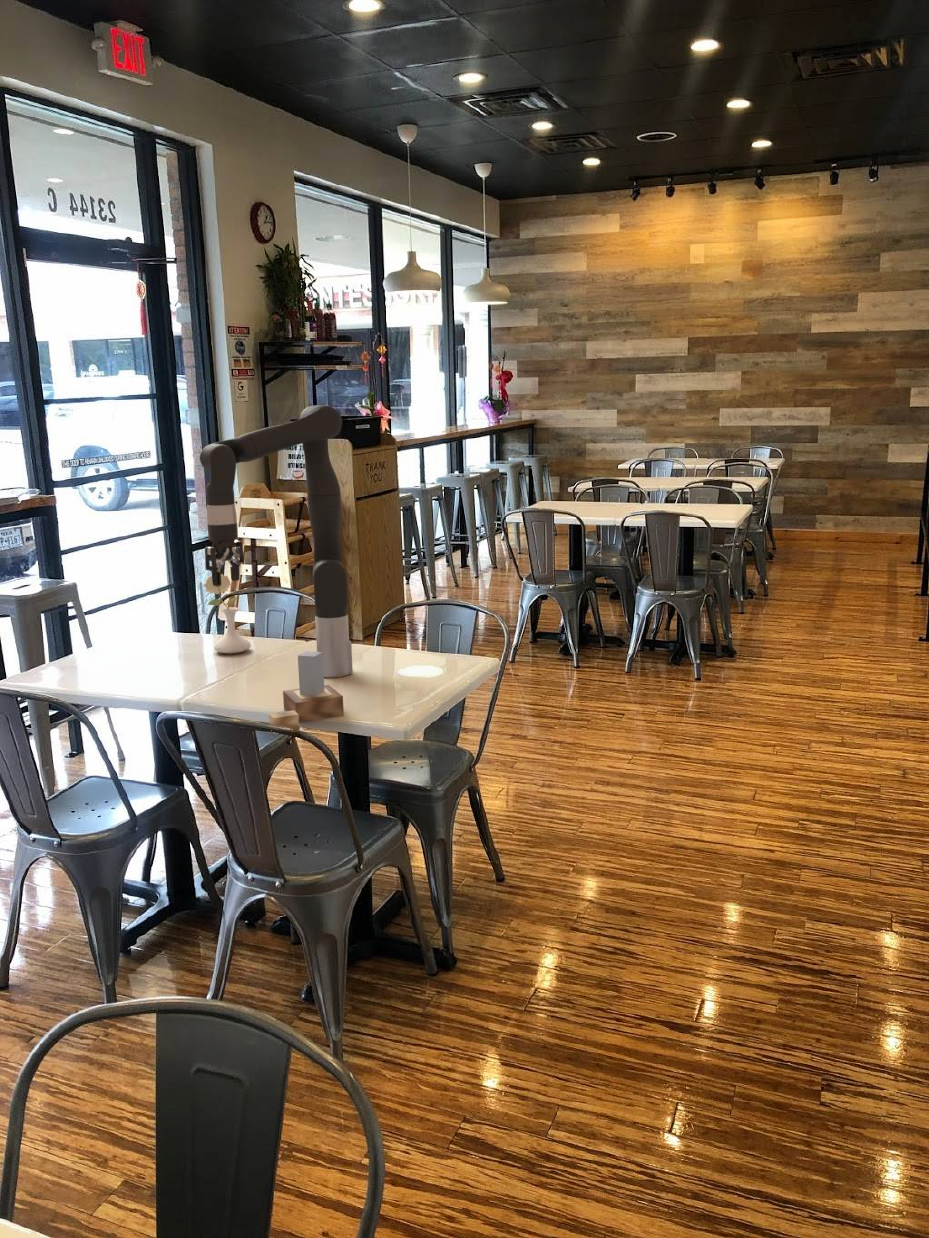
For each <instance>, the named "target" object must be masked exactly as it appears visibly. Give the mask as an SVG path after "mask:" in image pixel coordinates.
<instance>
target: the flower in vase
mask: <svg viewBox="0 0 929 1238" xmlns="http://www.w3.org/2000/svg"><path fill="white" fill-rule="evenodd" d="M231 584H232V583H231V579H230V578H229V577H228V575H224V574H223V573H221V586H214V585H213V583H212V576H209V577H208V578H206V581H205V583H204V585H203V586H204V588H205V590H206V592H208V593H210V594H214V595H219V598H220V599H218V598H213V599H211V600H210V601H209V602H208V604H207V605H208V606H219V605H220V604H221V603H223V605H224V606H225V607H224V608H222V609H221V611H222V612H223V614H224V615H225V619H226V624H227V625H226V626H227V627H226V628H227V629H226V633H225V634H224V635H223V636H222V637H221V638H220V639H219V640H218V641H217V642H216V643H215V644H214V646H213V649H214V651H215V652H218V653H221V654H237V653H238V654H239V653H243V652H245V651H248V650H249V649H250V648H251V647H252V645H251V642H250V641H249V640H247V639H246V638H245V637H243V636H242V635H241V634H239V633H238V632H237V630H236V627H235V626H236V625H235V622H236V621H235V619H236V614H237V611H238V610H239V608H238V607H235V606H233V607H231V606H229V605H232V604H234V603H235V602H236V601H237V599H238V596H236V597H234V598H231V599H229V600H228V601H227V602H226V603H225V602H224V601H223V599H222V597H221V596H222V594H223V593H224V592H227V591H228V590H229V588H230V586H231ZM221 593H222V594H221ZM228 606H229V607H228Z"/></svg>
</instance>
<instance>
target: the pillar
mask: <svg viewBox="0 0 929 1238" xmlns="http://www.w3.org/2000/svg"><path fill="white" fill-rule="evenodd" d="M297 665H298V666H297V667H298V668H297V669H298V684H299V685H298V686H299V689H300V694H301V695H312V696H317V695H318V694H320V693H322V692H324V691H325V690H324V685H325V677H324V670H323V652H317V651H304V652H302V653H300V654H298V655H297Z"/></svg>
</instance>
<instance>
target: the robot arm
mask: <svg viewBox="0 0 929 1238" xmlns="http://www.w3.org/2000/svg"><path fill="white" fill-rule="evenodd" d="M342 426H343V418H342V415H341V414H340V412H339V410H337V409H336V408H334V406H333V407H332V406H330V405H324V404H323V405H322V404H321V405H319V404H318V405H317V404H316V405H309V406H307V407H305V408H304V409H303V410H302V412H301V413H300V416H299V419H296V420H292V421H289V422H286V423H281V424H278V425H272V426H268V427H264V428H260V429H257V430H254V431H250V432H248V433H244V434H242V435H240V436H237V437H233V438H229V439H224V440H221V441H217V442H213V443H211V444H208V445H206V446H204V447H203V449H201V451H200V454H199V462H200V465H202V467H203V468H204V469H205V470H207V471H210V482H209V483H207V484H206V489H205V493H206V494H205V495H206V505H207V507H206V520H207V533H208V540H209V541H210V542H212V546H206V547H205V548H204V557H205V558H204V561H205V570H206V571H209V572H211V577H212V583H213V585H214V586H221V574H222V573H221V570H222V566H223V565H224V564H225V562H228V563H229V565H230V567H229V568H230V581H233V582H234V581H236V582H237V581H240V566H241V564H243V563H244V561H245V557H244V547H243V541H241V540H238V538H239V534H238V533H239V532H238V517H237V510H236V504H235V490H234V486H235V480H236V473H237V464H239V463H249V462H252V461H256V460H259V459H261V458H263V457H264V458H265V457H266V456H269V455H272V454H274V453H275V454H276V453H277V452H280V451H283V450H286V449H289V448H292V447H295V446H298V445H301V444H302V448H303V454H304V466H305V467H304V468H305V481H306V500H307V509H308V517H309V518H308V519H309V523H310V528H311V529H310V530H311V533H312V534H311V535H312V541H313V564H312V578H313V594H314V620H315V623H314V624H315V639H316V640H315V641H316V652H323V670H324V678H341V677H345V676H349V675H353V671H354V669H353V652H352V651H353V649H352V641H351V640H350V636H349V635H350V634H349V633H350V632H349V630H350V629H349V614H348V613H349V611H348V608H349V596H348V593H349V592H348V576H347V575H348V574H347V571H346V569H345V566H344V561H343V557H342V550H341V543H340V542H341V541H340V540H341V539H340V538H341V537H340V533H341V524H342V498H341V495H342V494H341V487H340V482H339V479H338V477H337V475H336V472H335V470H334V467H333V465H332V463H331V459H330V455H329V440H330V439H333V438H334V437H336V436H337V435H338V434H339V433H340V431H341V430H342Z"/></svg>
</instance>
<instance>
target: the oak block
mask: <svg viewBox="0 0 929 1238" xmlns="http://www.w3.org/2000/svg"><path fill="white" fill-rule="evenodd" d="M270 724H273V725H279V726H283V727H287V728H290V729H293V730H296V731H300V722H299V714H297V713H296V712H295V711H294V710H292V711H285V710H284V711H279V712H273V713H272V712H271V713H269V725H270ZM272 733H273V734H274V735H276V734H278V733H275V732H272Z"/></svg>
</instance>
